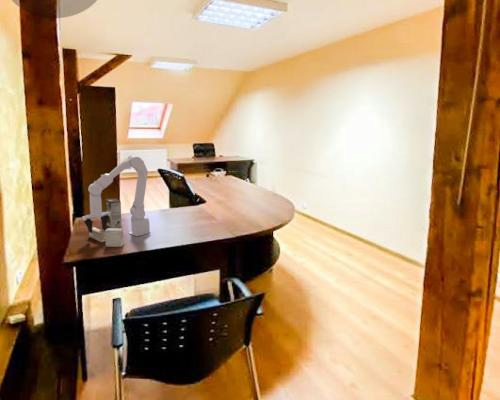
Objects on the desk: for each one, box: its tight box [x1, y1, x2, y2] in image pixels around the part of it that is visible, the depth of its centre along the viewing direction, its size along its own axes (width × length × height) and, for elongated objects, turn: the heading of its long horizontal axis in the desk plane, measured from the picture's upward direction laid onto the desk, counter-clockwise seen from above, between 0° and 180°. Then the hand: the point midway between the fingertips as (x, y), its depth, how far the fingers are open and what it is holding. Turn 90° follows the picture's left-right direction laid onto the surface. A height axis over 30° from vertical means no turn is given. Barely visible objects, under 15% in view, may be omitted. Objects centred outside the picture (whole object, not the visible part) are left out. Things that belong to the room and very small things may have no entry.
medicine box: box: [104, 227, 124, 248], centre depth 188 cm, size 8×4×9 cm, turn 92°
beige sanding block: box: [88, 227, 106, 243], centre depth 198 cm, size 3×12×5 cm, turn 52°
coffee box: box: [104, 198, 123, 228], centre depth 220 cm, size 9×6×16 cm
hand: (97, 230), depth 197 cm, fingers open, 7 cm apart
